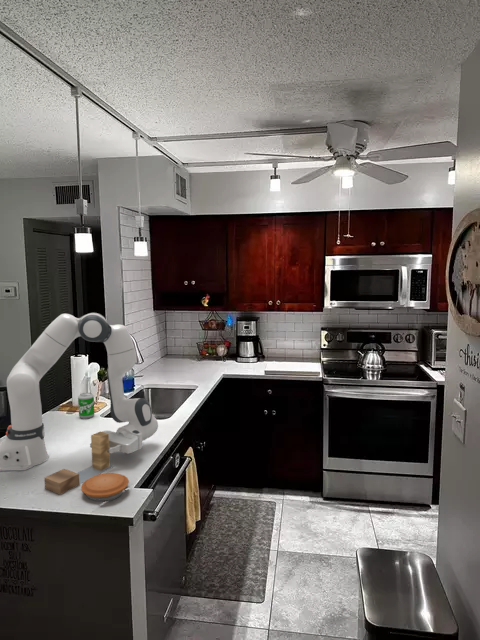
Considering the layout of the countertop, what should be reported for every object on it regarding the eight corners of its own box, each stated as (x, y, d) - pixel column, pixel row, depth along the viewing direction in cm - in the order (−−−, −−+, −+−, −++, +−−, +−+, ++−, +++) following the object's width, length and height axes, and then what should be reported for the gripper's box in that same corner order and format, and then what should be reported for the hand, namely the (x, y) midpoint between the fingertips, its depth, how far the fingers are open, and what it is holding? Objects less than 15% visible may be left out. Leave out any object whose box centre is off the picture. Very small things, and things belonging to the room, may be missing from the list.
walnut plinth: (60, 494, 151) (59, 483, 150) (44, 488, 155) (44, 477, 154) (79, 484, 157) (78, 473, 157) (64, 479, 161) (63, 468, 161)
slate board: (61, 496, 151) (61, 493, 151) (46, 490, 155) (46, 487, 155) (114, 468, 172) (114, 466, 171) (100, 463, 176) (100, 461, 176)
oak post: (100, 470, 168) (99, 437, 166) (92, 468, 170) (91, 435, 169) (109, 466, 172) (108, 433, 170) (101, 463, 174) (100, 431, 172)
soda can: (76, 416, 230) (75, 394, 229) (90, 413, 235) (89, 391, 233) (82, 420, 224) (81, 397, 223) (96, 417, 229) (95, 394, 228)
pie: (72, 503, 147) (71, 489, 146) (95, 481, 162) (94, 468, 161) (117, 507, 144) (116, 493, 144) (135, 484, 159) (135, 471, 159)
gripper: (107, 424, 187) (80, 435, 175) (144, 433, 176) (118, 446, 164) (108, 439, 187) (81, 450, 176) (145, 449, 177) (119, 462, 165)
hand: (99, 448), depth 170 cm, fingers open, 8 cm apart
